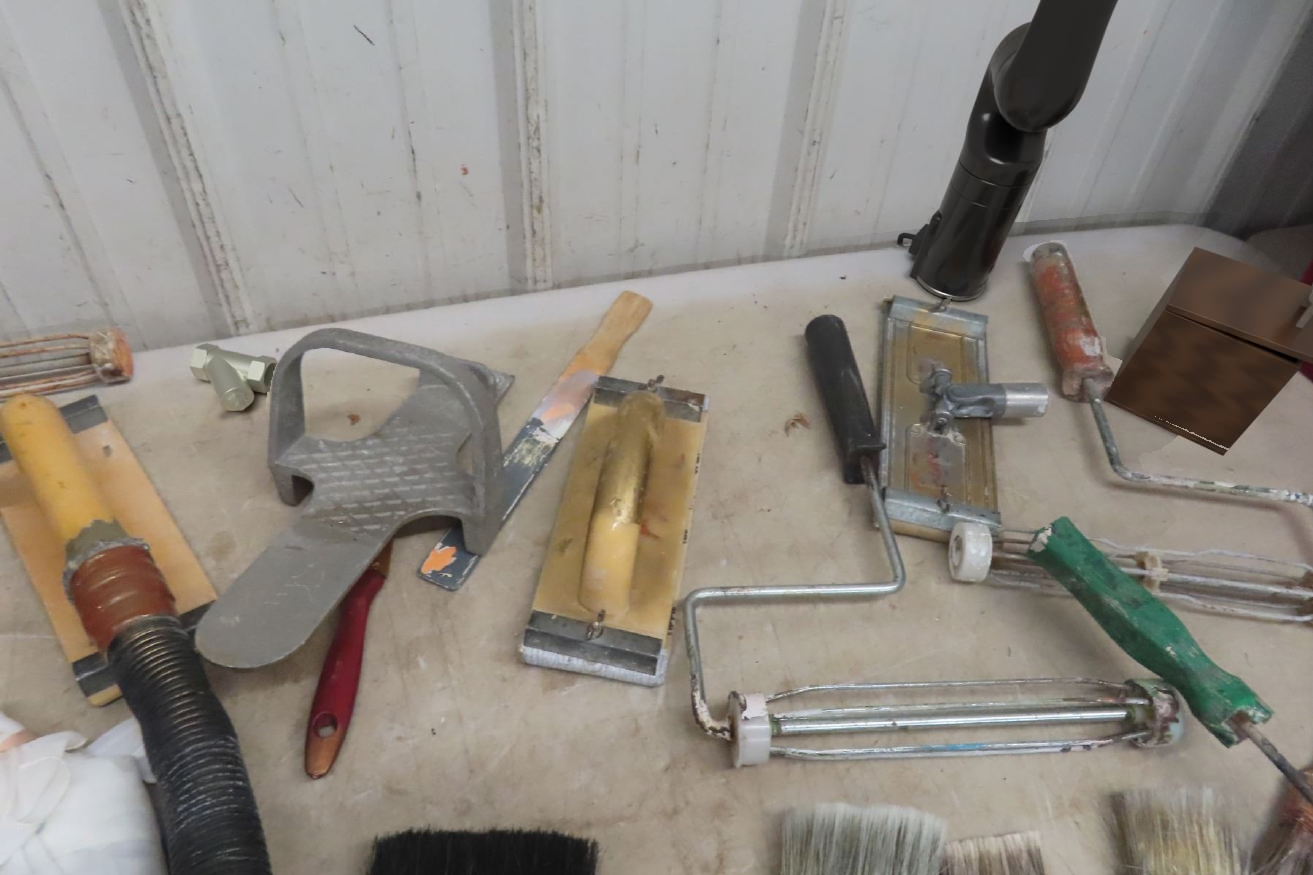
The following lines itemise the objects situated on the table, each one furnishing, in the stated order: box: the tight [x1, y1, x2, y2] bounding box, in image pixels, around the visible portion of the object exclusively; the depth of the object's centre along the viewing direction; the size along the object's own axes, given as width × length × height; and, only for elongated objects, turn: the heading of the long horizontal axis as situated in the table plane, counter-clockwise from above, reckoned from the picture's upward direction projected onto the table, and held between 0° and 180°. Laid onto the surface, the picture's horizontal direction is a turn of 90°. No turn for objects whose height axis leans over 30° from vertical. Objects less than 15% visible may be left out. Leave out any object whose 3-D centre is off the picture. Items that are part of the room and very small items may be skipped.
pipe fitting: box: [189, 343, 279, 412], centre depth 91 cm, size 8×4×7 cm
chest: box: [1103, 253, 1304, 457], centre depth 101 cm, size 14×14×14 cm
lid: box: [1165, 246, 1313, 365], centre depth 93 cm, size 15×14×6 cm
